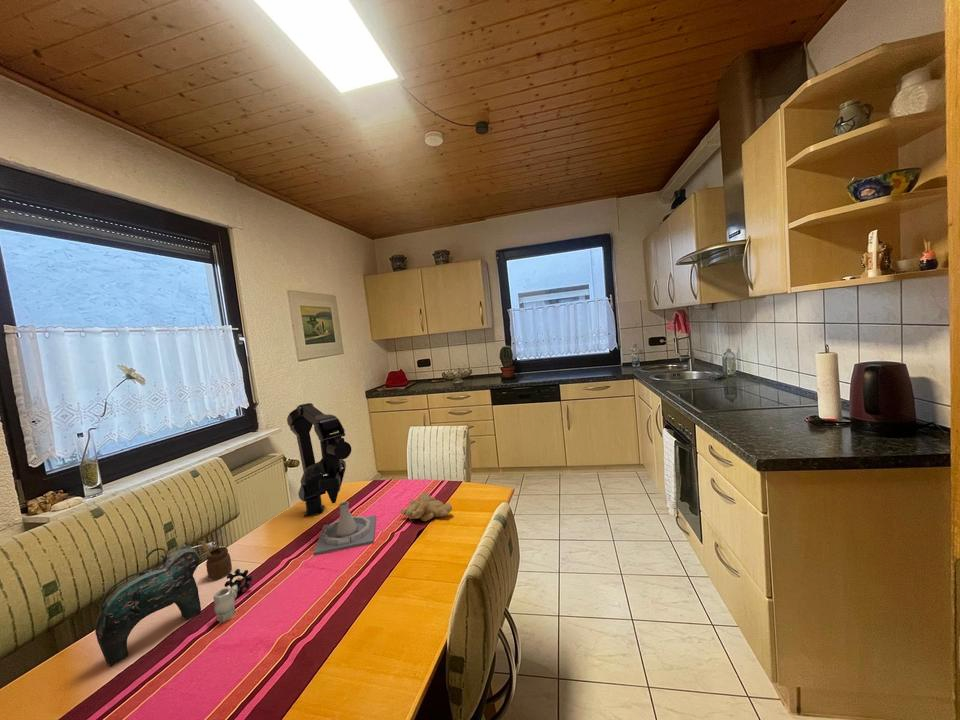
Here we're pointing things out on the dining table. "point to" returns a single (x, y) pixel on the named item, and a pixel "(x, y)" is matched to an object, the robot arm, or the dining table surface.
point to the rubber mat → (367, 539)
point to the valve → (230, 595)
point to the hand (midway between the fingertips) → (335, 497)
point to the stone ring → (347, 539)
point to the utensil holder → (218, 562)
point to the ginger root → (426, 508)
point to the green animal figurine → (147, 600)
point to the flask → (346, 522)
